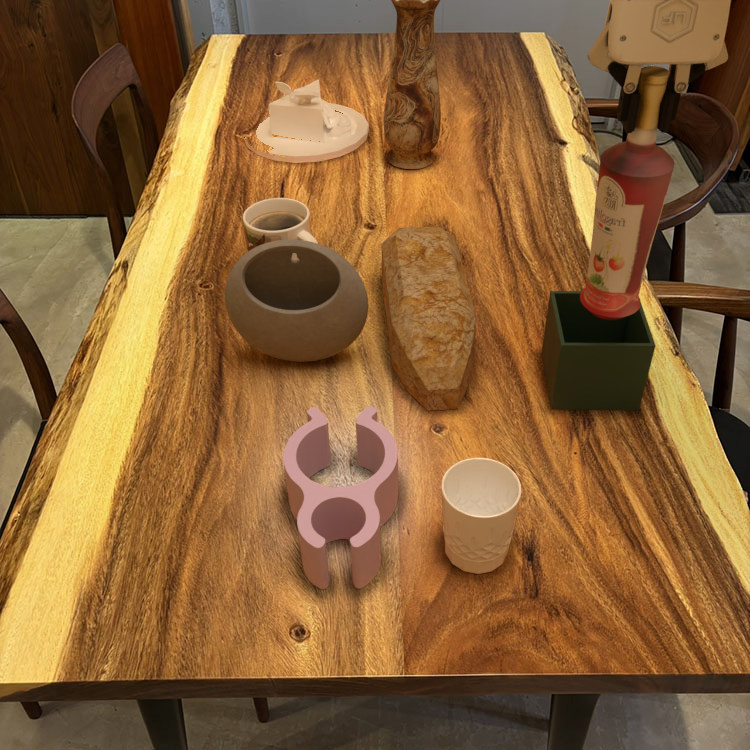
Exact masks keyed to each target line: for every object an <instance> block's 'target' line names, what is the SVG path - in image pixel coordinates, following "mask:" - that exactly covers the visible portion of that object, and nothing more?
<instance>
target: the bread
mask: <svg viewBox="0 0 750 750" xmlns="http://www.w3.org/2000/svg"><path fill="white" fill-rule="evenodd" d="M380 246H381V247H380V248H381V249H380V250H381V286H382V293H383V300H384V301H383V302H384V309H385V316H386V325H387V334H388V341H389V348H390V349H389V351H390V358H391V363H392V364H391V365H392V368H393V369H394V372H395V373H396V376H397V377H398V378H399V380H400V382H401V383H402V386H403V387H404V388H405V390H406V391H407V392H408V394H409V395H410V396H412V397H413V398H414V399H415V400H416V402H418V403H419V404H420V405H421V406H422V408H424V409H425V410H426V411H442V410H443V411H444V410H458V408H459V407H460V405H461V403H462V401H463V398H464V397H465V394H466V392H467V390H468V388H469V384H470V381H471V375H472V371H473V365H474V364H473V363H474V356H475V341H476V329H477V328H476V327H477V325H476V324H477V315H476V312H475V308H474V304H473V301H472V295H471V293H470V288H469V286H468V285H469V284H468V282H467V277H466V274H465V269H464V265H463V262H462V258H461V255H460V251H459V246H458V243H457V239H456V238H455V237H454V235H452V234H451V233H450V232H448V231H447V230H445V229H443V228H442V227H440V226H438V225H429V226H428V225H427V226H412V227H411V226H409V227H408V226H407V227H398V228H397V229H396V230H394V232H392V233H391V234H390V235H389V236H388V237H387V238H386V239H385V240H384V241H382V242H381V244H380Z"/></svg>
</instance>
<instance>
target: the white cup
mask: <svg viewBox="0 0 750 750" xmlns="http://www.w3.org/2000/svg"><path fill="white" fill-rule="evenodd" d="M521 495H522V484H521V481H520V478H519V477H518V474H516V472H515V471H514V470H512V468H510V467H509V466H508V465H506V464H504V463H503V462H501V461H498V460H496V459H492V458H488V457H470V458H465V459H462V460H460V461H457V462H455V463H454V464H453V465H451V466H450V467H449V468H448V469H447V470H446V472H445V473H444V475H443V476H442V479H441V517H442V518H441V519H442V533H443V536H444V552H445V553H444V554H445V555H446V556H447V558H448V560H449V562H451V564H452V565H453V566H455V567H456V568H457V569H460V570H461V571H462V572H465V573H470V574H475V575H480V574H486V573H491V572H494V571H495V570H496V569H498V568H500V566H502V565H503V564H504V562H505V560H506V558H507V556H508V554H509V548H510V544H511V542H512V538H513V534H514V529H515V527H516V526H515V525H516V521H517V515H518V512H519V506H520V501H521Z"/></svg>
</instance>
